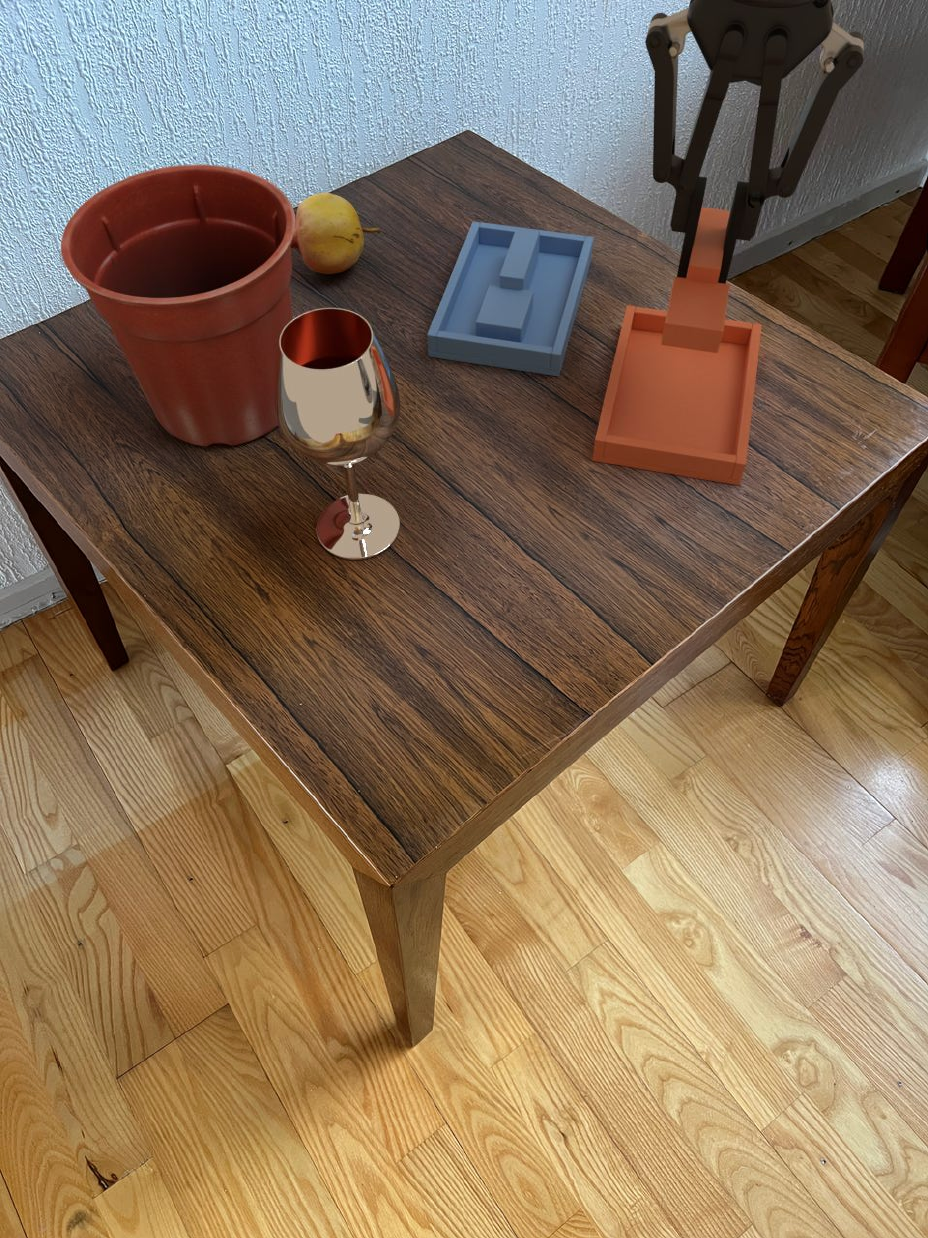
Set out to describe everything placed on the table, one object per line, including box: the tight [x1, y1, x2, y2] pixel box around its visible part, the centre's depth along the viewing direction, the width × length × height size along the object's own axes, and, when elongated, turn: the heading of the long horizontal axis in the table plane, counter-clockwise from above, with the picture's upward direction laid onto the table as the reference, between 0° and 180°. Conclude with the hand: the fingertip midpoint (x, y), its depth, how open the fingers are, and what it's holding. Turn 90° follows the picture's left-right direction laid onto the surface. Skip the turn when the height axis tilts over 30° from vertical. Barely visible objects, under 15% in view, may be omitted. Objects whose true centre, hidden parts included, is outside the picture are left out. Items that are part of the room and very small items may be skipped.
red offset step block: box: [661, 206, 731, 353], centre depth 70 cm, size 12×4×3 cm, turn 166°
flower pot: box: [60, 163, 296, 447], centre depth 75 cm, size 16×16×16 cm
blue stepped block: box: [476, 227, 540, 343], centre depth 86 cm, size 12×4×3 cm, turn 166°
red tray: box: [592, 304, 763, 486], centre depth 79 cm, size 12×17×2 cm
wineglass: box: [274, 307, 401, 561], centre depth 66 cm, size 8×8×18 cm
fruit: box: [291, 192, 381, 275], centre depth 88 cm, size 7×7×10 cm
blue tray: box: [426, 221, 595, 377], centre depth 86 cm, size 12×17×2 cm
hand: (702, 269), depth 72 cm, fingers closed on red offset step block, 2 cm apart
